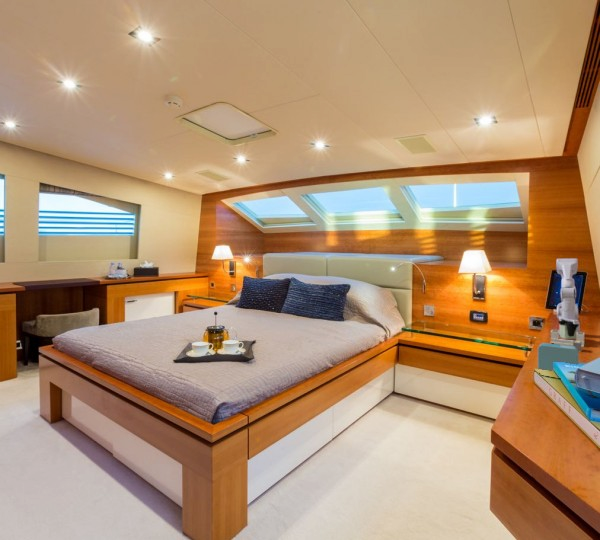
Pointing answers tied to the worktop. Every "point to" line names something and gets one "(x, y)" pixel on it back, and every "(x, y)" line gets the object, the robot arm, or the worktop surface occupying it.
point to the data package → (556, 355)
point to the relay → (578, 345)
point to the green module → (566, 332)
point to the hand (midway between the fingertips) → (568, 335)
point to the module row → (556, 340)
